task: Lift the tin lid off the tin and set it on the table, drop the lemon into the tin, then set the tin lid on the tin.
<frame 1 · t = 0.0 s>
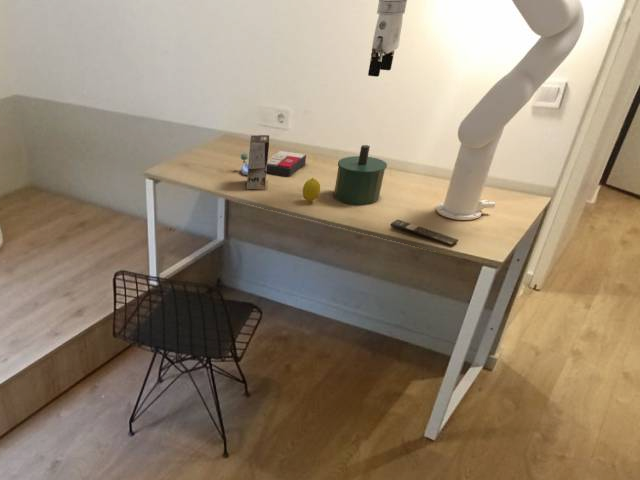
hand: (379, 72, 187), 37 cm above the table, tool pointing down, fingers open, 9 cm apart
grey red flat block: (283, 169, 232), on the table
tin lid: (361, 165, 200), point 10 cm above the table, touching tin
lemon: (309, 202, 205), on the table
figurine: (249, 173, 230), on the table
tin: (356, 196, 207), on the table
coffee box: (256, 185, 220), on the table
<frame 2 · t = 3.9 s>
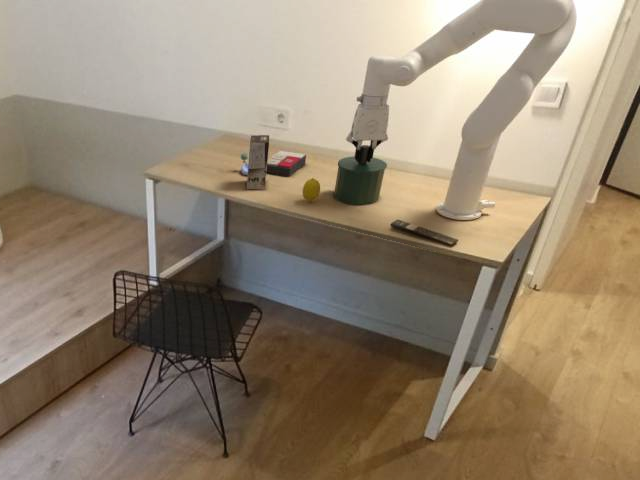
hand: (362, 160, 199), 12 cm above the table, tool pointing down, fingers closed on tin lid, 2 cm apart
tin lid: (361, 165, 200), point 11 cm above the table, touching gripper, tin
everything else where it was.
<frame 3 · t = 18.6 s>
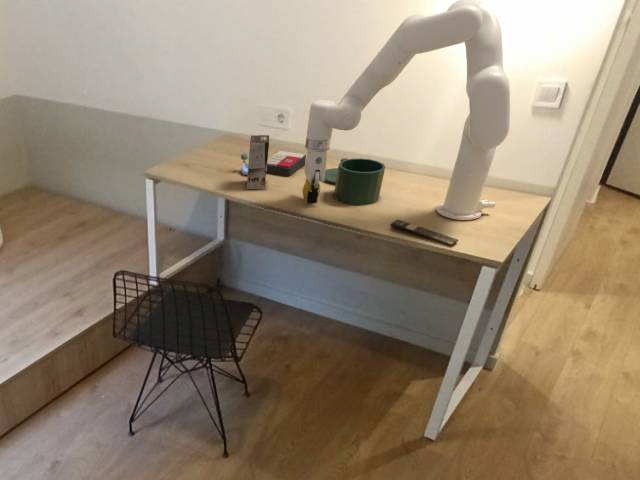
hand: (310, 198, 204), 1 cm above the table, tool pointing down, fingers closed on lemon, 5 cm apart
tin lid: (341, 176, 221), point 1 cm above the table
lemon: (309, 202, 205), on the table, touching gripper
everything else where it was.
when the fingers open (12 cm above the table, at t = 35.7 s): lemon stays where it is, resting on tin.
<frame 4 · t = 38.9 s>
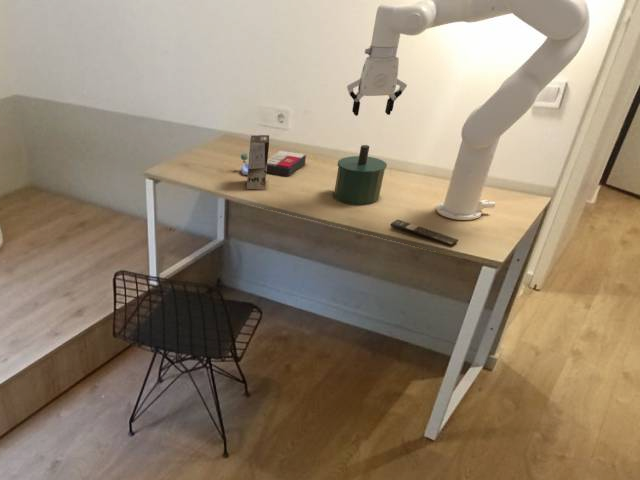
hand: (371, 114, 191), 26 cm above the table, tool pointing down, fingers open, 9 cm apart
tin lid: (361, 165, 200), point 10 cm above the table, touching tin
lemon: (357, 193, 206), point 1 cm above the table, touching tin
everything else where it was.
at the end: lemon inside the target area in the tin (0.4 cm from its centre), point 1.2 cm above the tin's base; tin lid 0.1 cm off-centre on the tin, point 10.5 cm above the tin's base; tin lid tilted 0° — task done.
